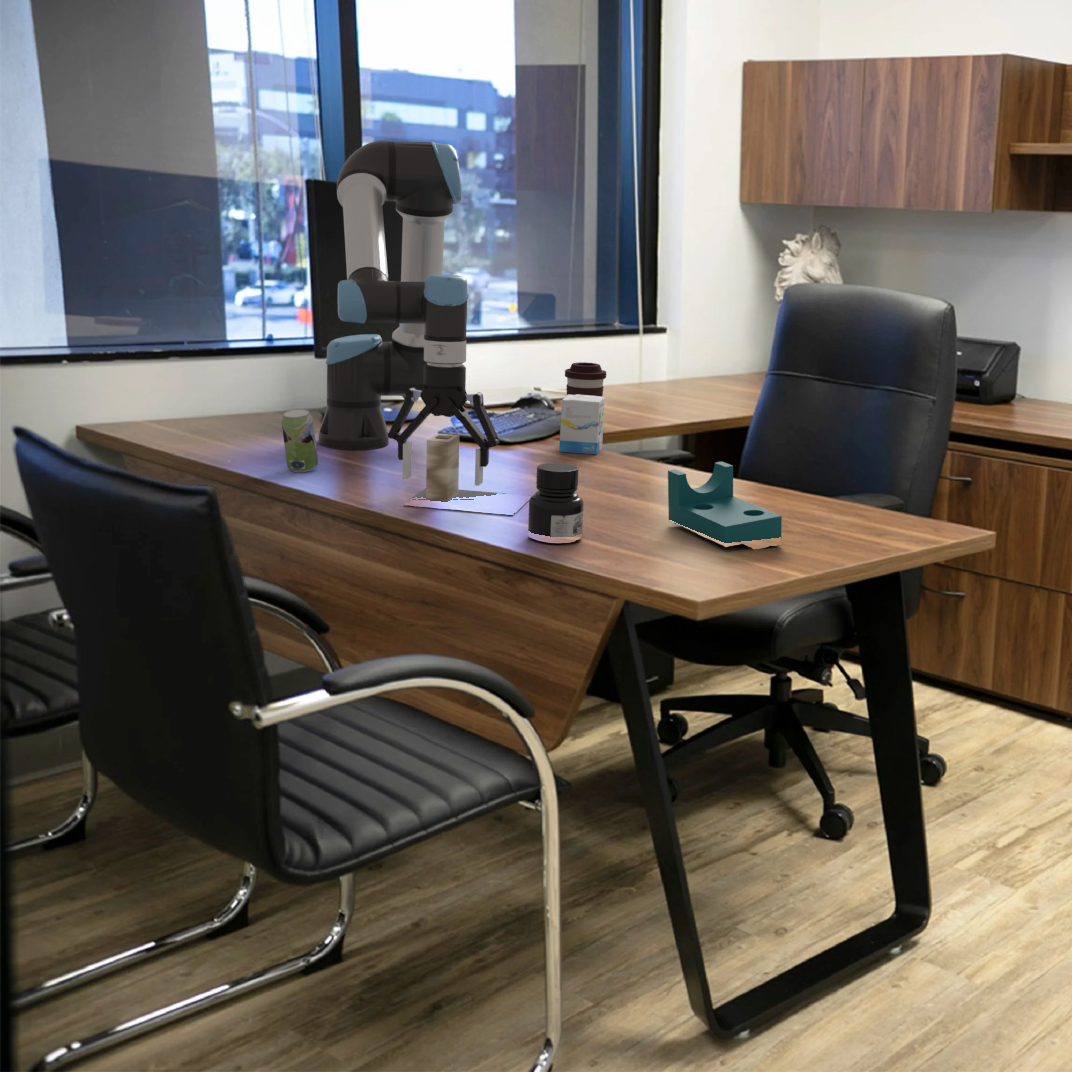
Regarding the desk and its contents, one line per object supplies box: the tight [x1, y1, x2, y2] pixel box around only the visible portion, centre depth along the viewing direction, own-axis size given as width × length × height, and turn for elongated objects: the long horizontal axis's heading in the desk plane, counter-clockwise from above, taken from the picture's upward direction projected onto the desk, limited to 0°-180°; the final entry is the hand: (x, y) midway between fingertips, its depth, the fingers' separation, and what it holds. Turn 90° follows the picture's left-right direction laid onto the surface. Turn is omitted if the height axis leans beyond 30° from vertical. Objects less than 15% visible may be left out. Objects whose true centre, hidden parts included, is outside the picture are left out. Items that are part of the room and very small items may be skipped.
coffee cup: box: [564, 361, 607, 397], centre depth 315 cm, size 10×10×15 cm
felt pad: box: [408, 487, 506, 501], centre depth 237 cm, size 20×14×1 cm
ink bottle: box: [527, 462, 584, 537], centre depth 214 cm, size 10×9×12 cm
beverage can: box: [281, 408, 319, 473], centre depth 256 cm, size 6×7×12 cm
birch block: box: [425, 433, 460, 502], centre depth 237 cm, size 4×7×11 cm, turn 167°
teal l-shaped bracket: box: [667, 461, 783, 543], centre depth 219 cm, size 18×11×10 cm, turn 25°
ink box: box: [558, 394, 606, 455], centre depth 287 cm, size 8×8×12 cm
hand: (442, 481), depth 237 cm, fingers open, 13 cm apart
